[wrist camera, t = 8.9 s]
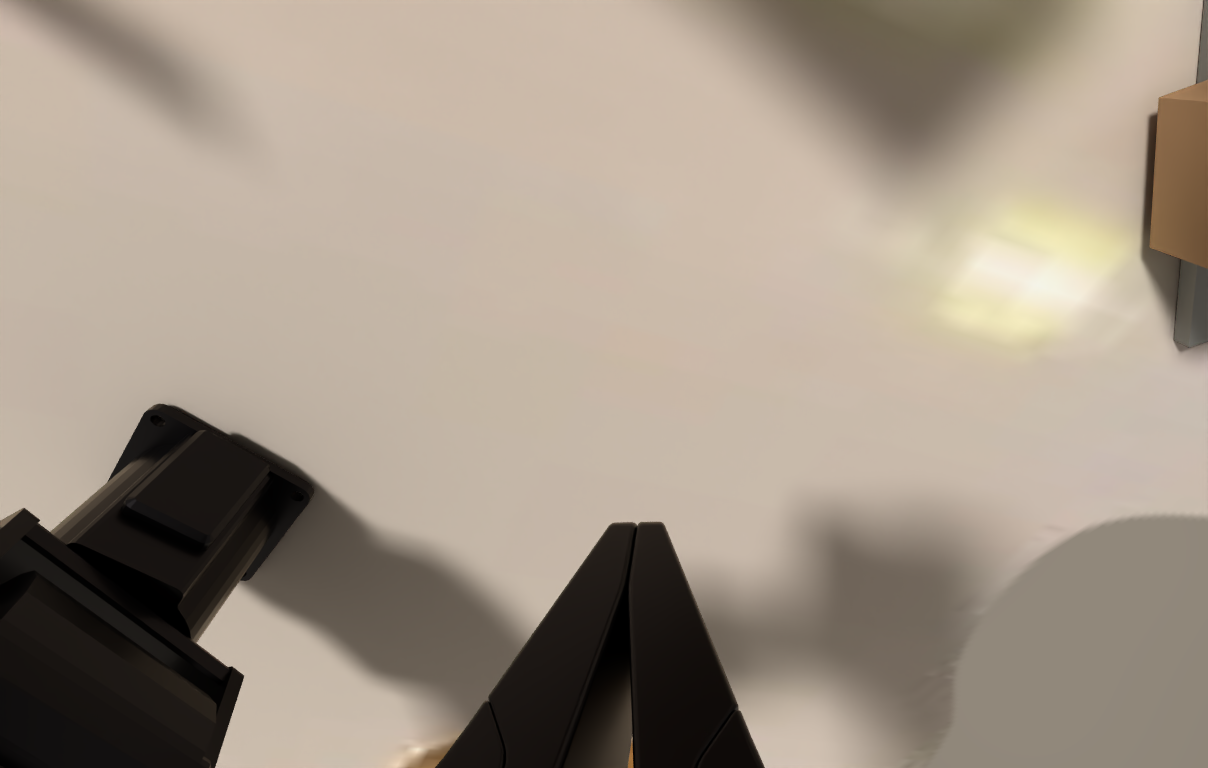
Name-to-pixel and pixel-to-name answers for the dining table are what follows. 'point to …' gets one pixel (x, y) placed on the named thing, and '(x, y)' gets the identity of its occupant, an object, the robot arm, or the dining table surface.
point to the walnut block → (1182, 176)
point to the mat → (1202, 291)
